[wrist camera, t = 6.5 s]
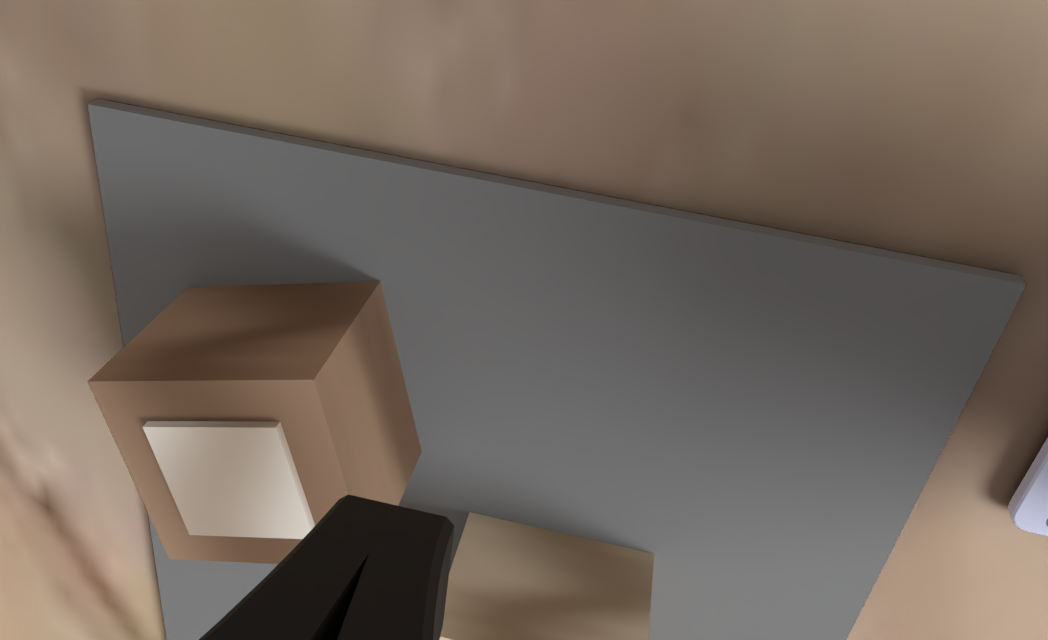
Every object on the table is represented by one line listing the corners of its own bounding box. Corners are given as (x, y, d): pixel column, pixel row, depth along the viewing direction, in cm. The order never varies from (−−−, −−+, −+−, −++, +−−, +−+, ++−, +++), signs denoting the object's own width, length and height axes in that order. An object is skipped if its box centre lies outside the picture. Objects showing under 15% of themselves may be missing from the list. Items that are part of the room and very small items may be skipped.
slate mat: (1020, 275, 18) (1026, 284, 17) (724, 866, 30) (725, 878, 30) (98, 98, 19) (87, 104, 19) (186, 729, 32) (181, 739, 32)
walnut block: (380, 280, 20) (309, 386, 16) (421, 451, 22) (368, 574, 19) (186, 287, 21) (81, 387, 17) (246, 449, 23) (164, 565, 20)
